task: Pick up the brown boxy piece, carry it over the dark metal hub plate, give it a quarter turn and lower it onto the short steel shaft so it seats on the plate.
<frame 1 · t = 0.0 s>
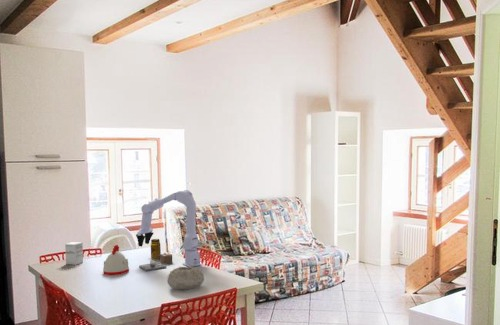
hand: (143, 244, 274), 11 cm above the table, tool pointing down, fingers open, 7 cm apart
grey rounded piece: (186, 288, 218), on the table
brown boxy piece: (166, 262, 271), on the table
supplement box: (74, 263, 275), on the table
hub plate: (152, 267, 260), on the table
kitchen timer: (116, 272, 252), on the table
condiment: (156, 258, 284), on the table
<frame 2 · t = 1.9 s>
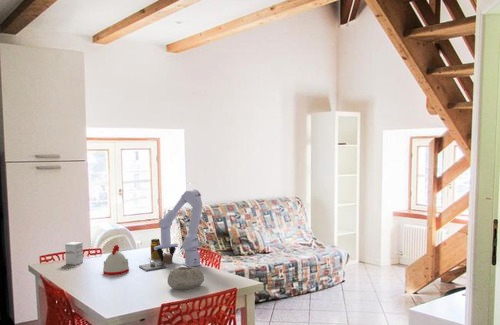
hand: (166, 260, 271), 1 cm above the table, tool pointing down, fingers closed on brown boxy piece, 5 cm apart
brown boxy piece: (166, 262, 271), on the table, touching gripper
everything else where it was.
when the fingers open (3 cm above the table, at t = 5.7 s): brown boxy piece stays where it is, resting on hub plate.
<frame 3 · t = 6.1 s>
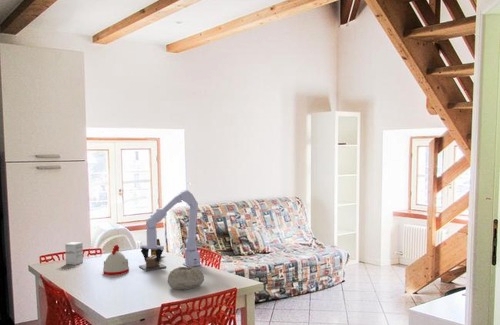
hand: (152, 261, 260), 3 cm above the table, tool pointing down, fingers open, 7 cm apart
brown boxy piece: (152, 265, 260), point 1 cm above the table, touching hub plate
everything else where it was.
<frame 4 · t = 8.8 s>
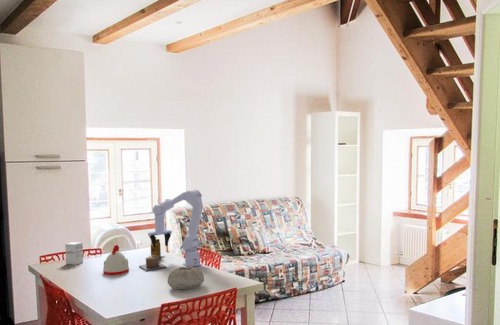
hand: (160, 246, 273), 9 cm above the table, tool pointing down, fingers open, 7 cm apart
nothing on the table moved.
at the end: brown boxy piece 0.1 cm off-centre on the hub plate, point 1.1 cm above the hub plate's base; brown boxy piece tilted 2°; the gripper is holding nothing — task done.
